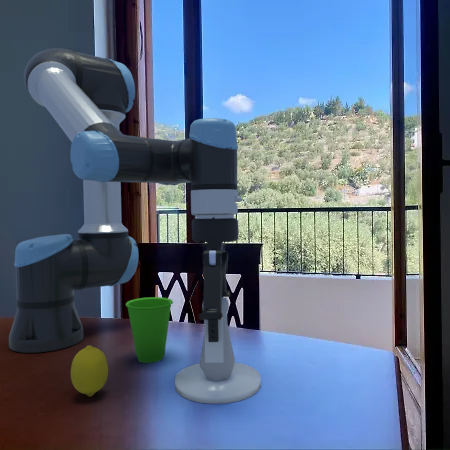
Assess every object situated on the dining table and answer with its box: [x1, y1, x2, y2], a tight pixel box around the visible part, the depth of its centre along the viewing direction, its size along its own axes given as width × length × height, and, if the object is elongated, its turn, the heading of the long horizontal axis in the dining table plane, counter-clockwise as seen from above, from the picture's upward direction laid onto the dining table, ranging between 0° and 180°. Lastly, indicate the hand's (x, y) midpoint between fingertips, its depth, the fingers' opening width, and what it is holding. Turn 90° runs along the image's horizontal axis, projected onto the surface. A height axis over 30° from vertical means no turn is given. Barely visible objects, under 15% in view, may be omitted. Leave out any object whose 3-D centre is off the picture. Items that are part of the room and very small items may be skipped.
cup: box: [125, 296, 174, 364], centre depth 81 cm, size 9×9×11 cm
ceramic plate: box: [174, 361, 262, 405], centre depth 69 cm, size 14×14×1 cm
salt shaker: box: [199, 297, 236, 382], centre depth 68 cm, size 6×6×13 cm
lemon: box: [70, 345, 109, 397], centre depth 65 cm, size 6×6×8 cm
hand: (217, 346), depth 68 cm, fingers open, 13 cm apart
